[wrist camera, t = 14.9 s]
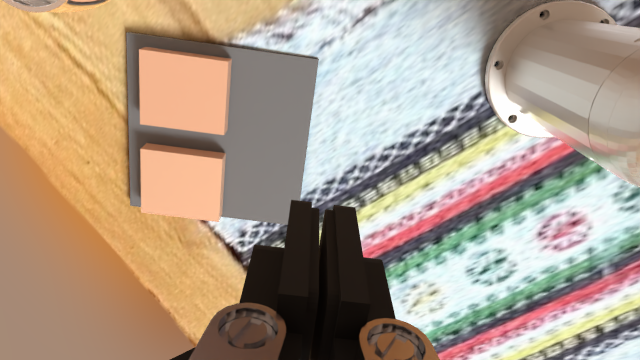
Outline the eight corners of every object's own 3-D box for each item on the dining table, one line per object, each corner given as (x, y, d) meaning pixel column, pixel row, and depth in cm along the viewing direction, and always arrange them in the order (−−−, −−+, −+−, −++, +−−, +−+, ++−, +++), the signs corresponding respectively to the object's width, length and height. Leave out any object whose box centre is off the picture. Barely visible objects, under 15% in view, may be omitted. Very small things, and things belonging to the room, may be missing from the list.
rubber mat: (318, 58, 44) (318, 59, 44) (296, 223, 51) (296, 225, 51) (128, 32, 43) (126, 32, 43) (132, 203, 50) (130, 205, 50)
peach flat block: (222, 159, 45) (140, 148, 45) (218, 221, 48) (141, 212, 48) (226, 152, 47) (147, 142, 47) (222, 212, 50) (148, 203, 50)
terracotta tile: (228, 61, 42) (139, 49, 41) (224, 135, 45) (140, 124, 44) (232, 58, 44) (147, 46, 43) (228, 128, 46) (147, 118, 46)
